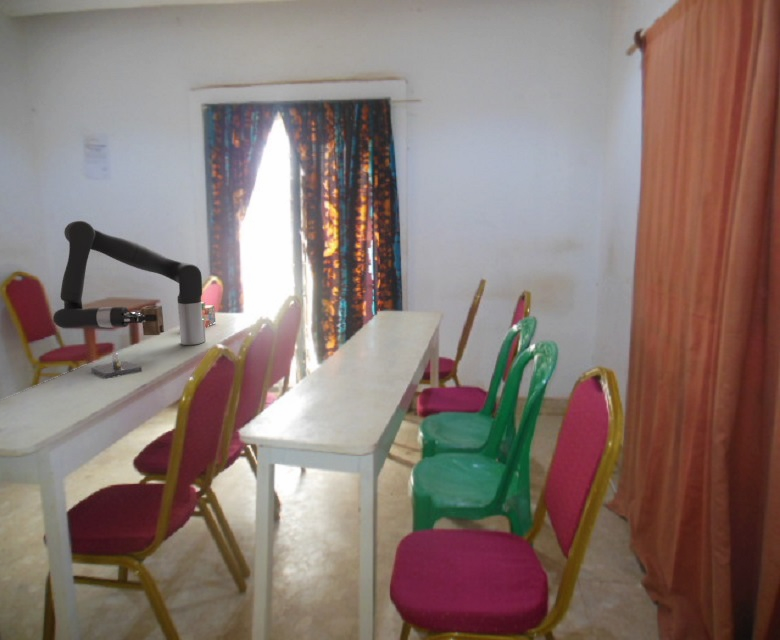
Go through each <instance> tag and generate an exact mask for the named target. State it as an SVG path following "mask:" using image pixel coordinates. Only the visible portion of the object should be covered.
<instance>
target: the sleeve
mask: <svg viewBox="0 0 780 640" xmlns="http://www.w3.org/2000/svg"><path fill="white" fill-rule="evenodd" d="M140 310H141V314H142V315H143V314H144V315H145V316H146V315H156V316H157V320H156V321H146V322H142V324H141V325H142V332H143V333H142V335H143V336H159V335H161V333H164V332H165V327H164V315H163V305H146V306H144V307H141V308H140Z"/></svg>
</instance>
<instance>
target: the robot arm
mask: <svg viewBox="0 0 780 640" xmlns="http://www.w3.org/2000/svg"><path fill="white" fill-rule="evenodd" d="M63 233H64V237H65V239H66V240H67V242H68V244H69V249H68V250H69V252H68V258H67V262H66V263H67V264H66V266H65V270H64V273H63V276H62V277H63V278H62V282H61V289H60V300H62V301H63V305H64V306H63V308H61V309H58V310H56V311H55V313H54V315H53V316H52V317H53V319H52V321H53V322H54V323H55V325H56V326H58V327H59V328H62V329H63V328H64V329H68V328H81V327H83V328H84V327H87V328H126V327H128V326H129V324H141V323H142V322H146V321H156V320H157V316H156V315H146V316H145V315H144V314H143V315H142V314H141V309H138V310H132V311H129V309H128V307H126V306H106V307H91V308H83V301H82V300H83V299H82V297H83V292H84V286H85V285H84V284H85V278H86V269H87V265H88V264H87V263H88V259H89V255H90V252H91V251H95V252H97V253H101V254H103V255H106V256H108V257H109V258H112V259H113V260H116V261H119V262H120V263H123V264H125V265H128V266H129V267H133V268H136V269H138V270H142V271H146V272H149V273H155V274H158V275H160V276H164V277H166V278H168V279H170V280H172V281H174V282H175V283H178V286H179V292H178V293H179V294H178V295H177V297H176V298H177V309H178V310H177V311H178V322H179V324H178V325H179V336H180V339H179V340H180V344H181V345H183V346H184V345H185V346H186V345H187V346H189V345H190V346H191V345H192V346H193V345H199V344H202V343H204V342H206V328H205V325H204V319H202V307H201V302H202V296H203V281H202V279H203V277H202V272H201V269H200V268H199V267H198V266H197V265H195V264H192V263H187V262H182V261H179V260H175V259H171V258H169V257H166V256H164V255H162V254H160V253H159V252H158V251H156V250H154V249H152V248H150V247H148V246H146V245H143V244H140V243H138V242H135V241H132V240H130V239H125V238H122V237H117V236H113V235H111V234H110V235H109V234H106V233H105V232H101V231H100V230H97V229H95V228H94V227H93V225H92V224H91V223H89V222H87V221H84V220H77V221H76V220H75V221H71V222H70V223H68V224H67V225H66V226H65V228H64V232H63Z"/></svg>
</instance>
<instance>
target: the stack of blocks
mask: <svg viewBox="0 0 780 640" xmlns="http://www.w3.org/2000/svg"><path fill="white" fill-rule="evenodd" d="M201 307H202V319H204V325H205V327H206V326H208V325H210V324H213V323H214V322H216V312H215V305H210V304H209V305H206V302H203V301H201ZM206 328H207V327H206Z"/></svg>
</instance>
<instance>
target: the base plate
mask: <svg viewBox="0 0 780 640" xmlns="http://www.w3.org/2000/svg"><path fill="white" fill-rule="evenodd" d="M111 359H112V363H110V364H104V365H97V366H94V367H93V366H91V367H90V370H91V373H93V372H94V373H93V374H95V373H96V375H97V374H98V376H99V377H102V376H103V377H102V378H104V377H105V378H104V379H109V378H108V377H110V378H113V376H115V377H118V375H120V376H125V375H129V374H134V373H138V371H139V372H142V366H141V365H137V364H134V363H132V362H131V361H130V362H129V361H125V360H124V361H119V353H118V352H112V354H111Z"/></svg>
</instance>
